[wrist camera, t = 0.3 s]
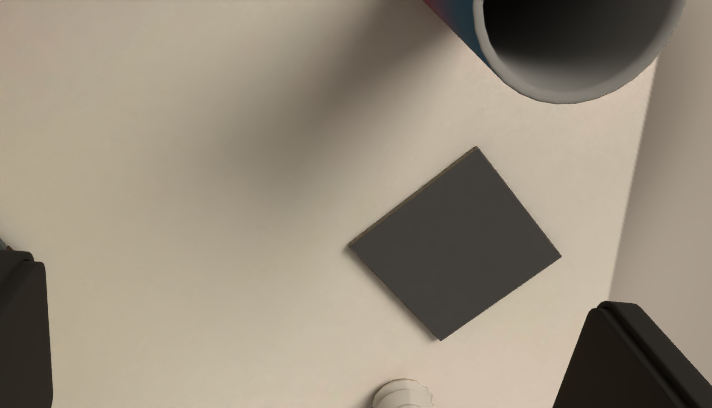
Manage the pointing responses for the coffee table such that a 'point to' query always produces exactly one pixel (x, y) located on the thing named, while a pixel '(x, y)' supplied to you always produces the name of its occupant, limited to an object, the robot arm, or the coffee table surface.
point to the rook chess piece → (403, 395)
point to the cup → (563, 42)
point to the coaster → (456, 245)
